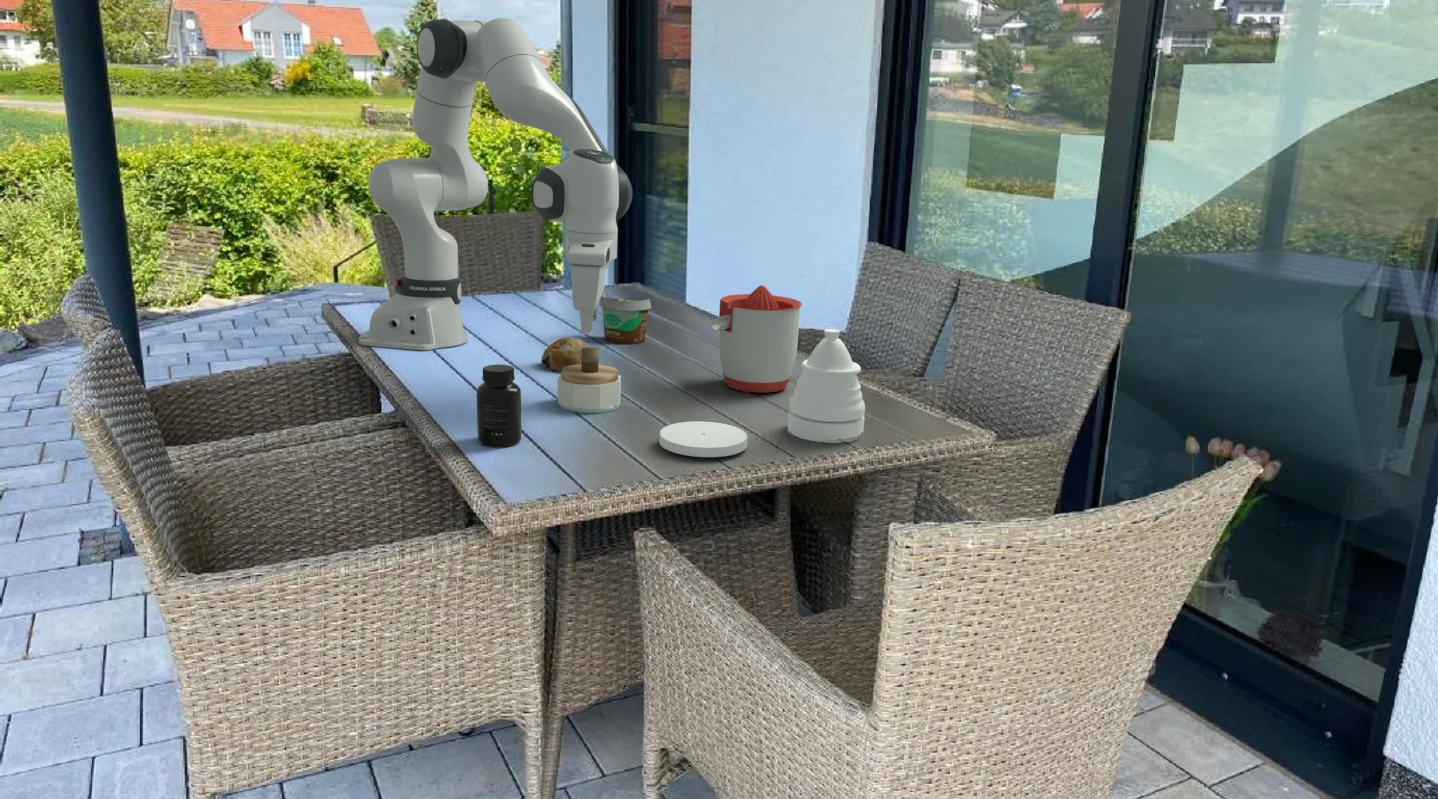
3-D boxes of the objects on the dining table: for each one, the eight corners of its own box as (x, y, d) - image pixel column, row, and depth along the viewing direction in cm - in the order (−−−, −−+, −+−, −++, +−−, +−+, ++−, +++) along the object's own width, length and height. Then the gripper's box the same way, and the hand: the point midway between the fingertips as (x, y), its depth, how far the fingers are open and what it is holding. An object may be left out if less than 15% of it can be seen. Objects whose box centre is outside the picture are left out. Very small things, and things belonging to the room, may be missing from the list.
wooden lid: (618, 385, 187) (618, 356, 186) (560, 384, 186) (560, 354, 185) (617, 371, 197) (618, 343, 195) (562, 369, 196) (562, 341, 194)
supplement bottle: (480, 434, 173) (479, 361, 170) (523, 435, 174) (523, 363, 170) (474, 447, 166) (473, 372, 163) (519, 448, 167) (519, 373, 164)
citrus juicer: (696, 379, 214) (700, 279, 208) (775, 375, 220) (781, 277, 215) (725, 400, 200) (731, 293, 194) (809, 395, 206) (817, 291, 201)
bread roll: (575, 392, 214) (592, 358, 212) (530, 366, 215) (547, 332, 212) (590, 380, 223) (607, 347, 221) (548, 355, 224) (564, 323, 221)
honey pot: (861, 447, 176) (870, 339, 171) (783, 439, 178) (790, 332, 173) (864, 425, 188) (873, 324, 184) (791, 418, 190) (798, 318, 186)
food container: (588, 341, 242) (589, 297, 239) (601, 336, 248) (602, 293, 245) (638, 348, 238) (639, 303, 235) (650, 343, 243) (651, 299, 241)
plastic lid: (764, 455, 171) (765, 439, 170) (690, 468, 163) (691, 452, 162) (713, 431, 182) (714, 417, 181) (642, 443, 174) (642, 428, 173)
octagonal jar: (554, 412, 187) (554, 384, 186) (562, 395, 198) (562, 368, 196) (618, 414, 187) (618, 386, 186) (622, 397, 198) (622, 371, 197)
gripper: (579, 237, 195) (577, 312, 199) (566, 255, 175) (564, 338, 179) (614, 239, 195) (611, 314, 199) (605, 257, 176) (602, 340, 179)
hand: (589, 326), depth 189 cm, fingers open, 8 cm apart
